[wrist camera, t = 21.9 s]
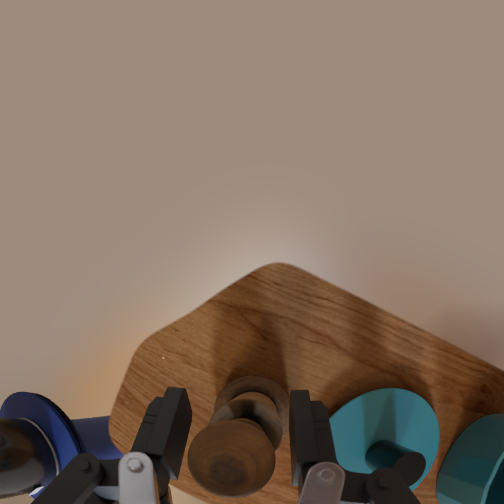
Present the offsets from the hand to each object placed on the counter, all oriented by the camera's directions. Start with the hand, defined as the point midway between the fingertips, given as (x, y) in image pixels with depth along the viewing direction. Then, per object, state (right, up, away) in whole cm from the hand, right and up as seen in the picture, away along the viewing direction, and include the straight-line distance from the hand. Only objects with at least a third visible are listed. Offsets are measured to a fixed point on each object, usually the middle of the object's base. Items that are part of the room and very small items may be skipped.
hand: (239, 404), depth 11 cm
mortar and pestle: (+1, -8, +12) cm, 14 cm away
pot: (+26, -18, +6) cm, 32 cm away
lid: (+12, -12, +8) cm, 19 cm away
